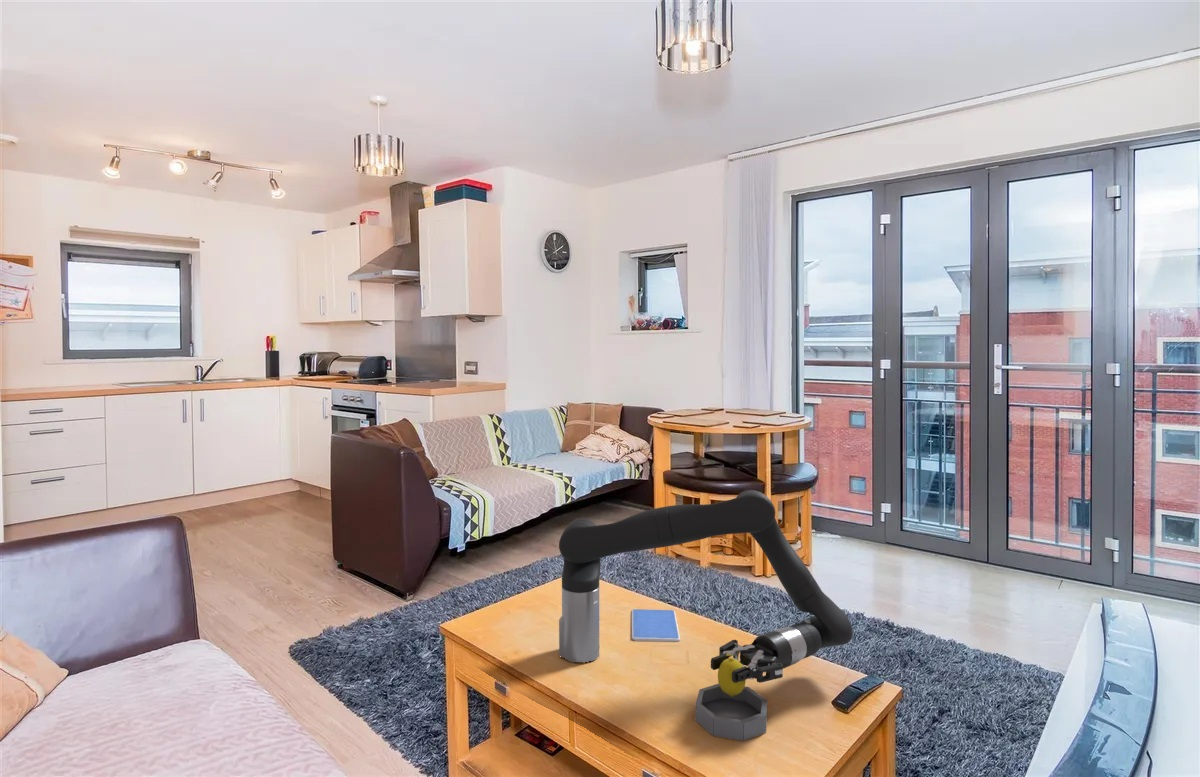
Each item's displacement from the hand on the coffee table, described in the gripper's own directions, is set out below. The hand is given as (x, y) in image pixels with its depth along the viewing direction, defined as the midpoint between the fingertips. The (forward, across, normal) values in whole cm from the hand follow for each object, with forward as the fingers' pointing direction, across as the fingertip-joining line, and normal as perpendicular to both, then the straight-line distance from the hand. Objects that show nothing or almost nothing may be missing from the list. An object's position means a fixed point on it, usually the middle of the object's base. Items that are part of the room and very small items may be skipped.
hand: (722, 670), depth 125 cm
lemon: (-3, 0, +6) cm, 7 cm away
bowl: (-2, 0, +11) cm, 11 cm away
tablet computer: (-17, -43, +12) cm, 48 cm away
